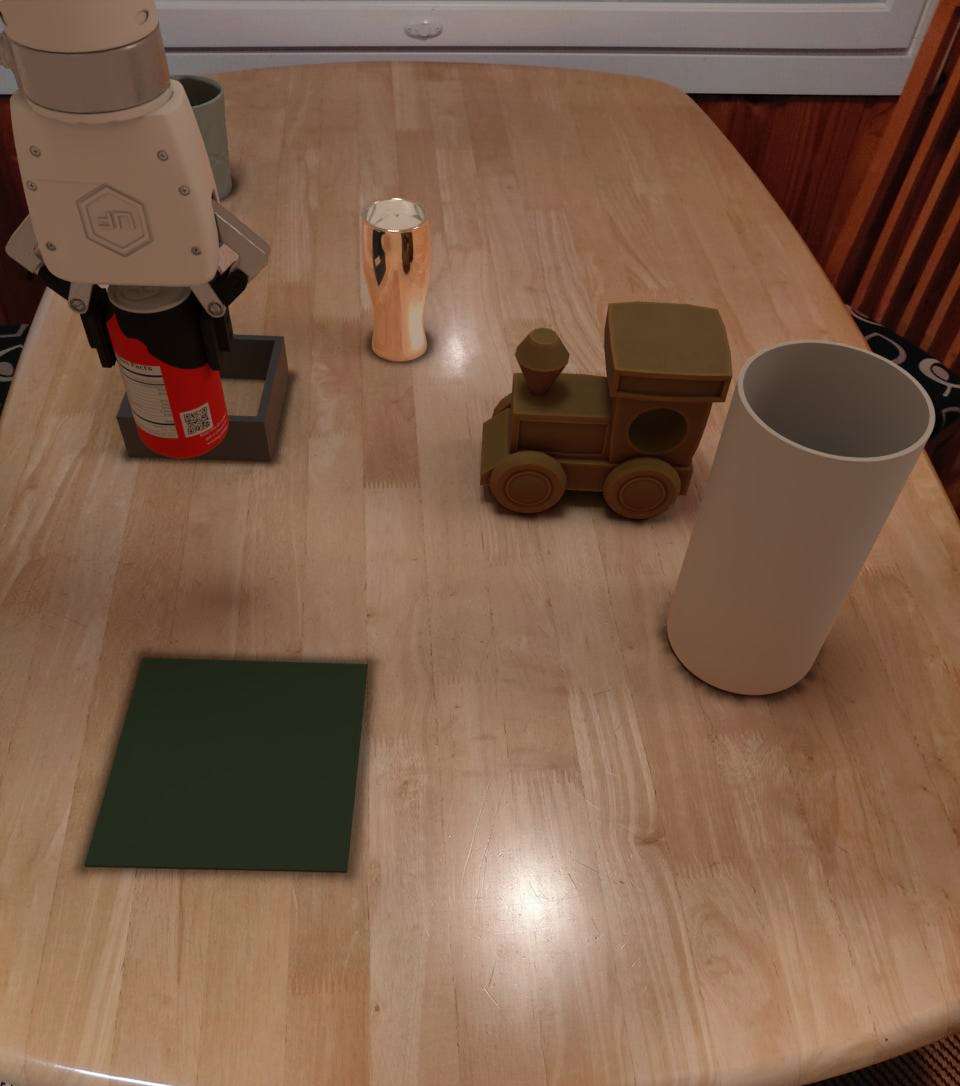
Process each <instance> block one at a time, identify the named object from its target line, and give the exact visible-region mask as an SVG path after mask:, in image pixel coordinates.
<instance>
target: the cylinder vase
mask: <svg viewBox="0 0 960 1086" xmlns="http://www.w3.org/2000/svg"><path fill="white" fill-rule="evenodd" d="M935 411H936V410H935V406H934V404H933V401H932V399H931V397H930V395H929V394H928V392H927V390H926V389H925V388H924V386H922V384H921V383H920V382H919V381H918V380H917V379H916V378H915V377H914V376H913V375H912V374H910V373H909V372H908V371H907V370H905V369H904V368H903V367H901V366H900V365H898V364H896V363H895V362H894V361H891V360H890V359H888V358H886V357H885V356H882V355H879V354H878V353H875V352H872V351H870V350H868V349H865V348H861V347H858V346H855V345H852V344H847V343H843V342H838V341H832V340H823V339H797V340H796V339H795V340H787V341H783V342H779V343H775V344H772V345H769V346H766V347H764V348H762V349H760V350H759V351H757V352H755V353H754V354H752V355H751V356H750V357H749V358H748V359H747V360H746V361H745V362H744V364H743V365H742V367H741V369H740V371H739V373H738V377H737V379H736V383H735V386H734V391H733V394H732V397H731V400H730V403H729V407H728V410H727V413H726V416H725V421H724V423H723V426H722V427H723V428H722V431H721V434H720V437H719V440H718V443H717V447H716V451H715V454H714V456H713V457H714V458H713V461H712V464H711V467H710V471H709V474H708V478H707V481H706V484H705V487H704V491H703V495H702V498H701V501H700V504H699V507H698V511H697V514H696V518H695V521H694V524H693V528H692V532H691V534H690V539H689V541H688V545H687V549H686V551H685V554H684V558H683V562H682V565H681V568H680V571H679V575H678V578H677V581H676V585H675V589H674V592H673V595H672V598H671V602H670V605H669V609H668V612H667V616H666V634H667V638H668V642H669V644H670V646H671V649H672V650H673V652H674V654H675V655H676V657H677V658H678V660H679V662H681V664H682V665H683V666H684V667H685V668H686V669H687V670H688V671H689V672H691V674H693V675H694V676H696V677H697V678H698V679H700V680H701V681H703V682H705V683H707V684H708V685H711V686H713V687H715V688H717V689H720V690H723V691H726V692H729V693H732V694H739V695H745V696H764V695H770V694H775V693H779V692H781V691H785V690H787V689H789V688H791V687H793V686H794V685H796V684H797V683H798V682H800V681H801V680H803V678H804V677H805V676H806V675H807V674H808V673H809V671H810V670H811V668H812V666H813V665H814V663H815V661H816V659H817V657H818V655H819V653H820V652H821V649H822V647H823V646H824V643H825V641H826V639H827V638H828V636H829V635H830V632H831V629H832V628H833V626H834V624H835V622H836V621H837V618H838V616H839V615H840V612H841V610H842V608H843V606H844V605H845V602H846V601H847V599H848V597H849V595H850V593H851V591H852V589H853V587H854V585H855V583H856V582H857V579H858V577H859V576H860V573H861V572H862V569H863V568H864V565H865V563H866V562H867V560H868V557H869V555H870V554H871V552H872V550H873V548H874V545H875V544H876V542H877V540H878V538H879V536H880V535H881V532H882V530H883V528H884V526H885V524H886V522H887V521H888V519H889V517H890V515H891V513H892V511H893V509H894V507H895V505H896V503H897V501H898V499H899V497H900V496H901V493H902V491H903V489H904V487H905V485H906V484H907V481H908V479H909V478H910V475H911V474H912V471H913V470H914V468H915V466H916V464H917V462H918V461H919V458H920V457H921V455H922V452H923V450H924V448H925V446H926V444H927V442H928V440H929V439H930V436H931V435H932V433H933V430H934V428H935V423H936V412H935Z"/></svg>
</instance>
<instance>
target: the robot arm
mask: <svg viewBox="0 0 960 1086" xmlns="http://www.w3.org/2000/svg"><path fill="white" fill-rule="evenodd" d="M0 22H1V24H2V27H3V30H2V31H1V32H0V66H3V68H4V69H10V70H11V72H12V74H13V76H14V80H15V83H16V86H17V89H16V91H14V92H13V93H12V94H11V96H10V98H9V108H10V117H11V127H12V133H13V140H14V146H15V151H16V158H17V162H18V168H19V173H20V178H21V182H22V187H23V192H24V195H25V201H26V205H27V209H28V212H29V213H28V214H27V215H26V217H25V218H24V219H23V221H22V222H21V223H20V224H19V226H18V227H17V228H16V229H15V230H14V232H13V233H12V234H11V236H10V238H9V240H8V241H7V243H6V245H5V247H4V249H5V253H6V254H7V256H8V257H9V258H11V259H12V260H14V261H15V262H17V263H18V264H19V265H20V266H22V267H23V268H24V269H26V270H27V271H29V272H30V273H31V274H33V273H34V274H35V275H37V278H38V279H39V281H40V282H41V283H42V284H43V285H45V286H46V287H47V288H49V289H50V290H51V291H53V292H54V293H55V294H57V295H58V296H60V297H61V298H63V299H64V300H66V301H67V305H68V308H69V309H70V310H71V311H72V312H74V313H75V314H79V318H80V321H81V323H82V326H83V328H84V332H85V336H86V339H87V342H88V345H89V347H90V349H95V350H96V352H97V356H98V358H99V362H100V366H101V368H103V369H112V368H113V367H115V365H116V363H117V359H116V356H115V352H114V349H113V346H112V342H111V339H110V336H109V332H108V329H107V326H106V322H105V311H106V308H107V305H108V302H109V297H108V294H107V288H106V287H101V286H100V285H104V286H106V285H107V286H109V285H131V286H170V287H190V289H191V290H192V292H193V293H194V294H195V296H196V297H197V299H198V300H199V302H200V303H201V304H202V306H203V309H202V313H201V316H200V326H201V331H202V335H203V340H204V345H205V349H206V354H207V359H208V363H209V368H211V369H212V370H213V371H221V370H222V366H223V363H224V359H225V355H226V352H232V351H233V347H234V335H233V334H234V329H233V325H232V324H233V323H232V319H231V314H230V313H231V312H230V307H229V306H231V305H232V304H233V303H234V302H235V300H236V299H237V298H238V297H240V296H241V294H242V293H243V292H244V291H245V290H246V289H247V288H248V287H247V286H248V285H249V284H250V283H251V282H252V281H253V280H254V279H255V278H256V277H257V276H258V275H259V274H260V273H261V272H262V270H263V269H265V267H266V266H267V265H268V263H269V261H270V257H271V251H272V248H271V246H270V244H269V243H268V242H267V241H266V240H265V239H263V238H262V237H261V236H260V235H258V234H257V233H255V232H254V231H253V230H252V229H251V228H250V227H249V226H247V225H246V224H245V223H244V222H243V221H241V220H240V219H239V218H237V216H235V215H234V214H232V213H231V212H230V210H228V209H227V208H225V207H224V206H223V205H222V204H221V202H220V201H221V200H219V197H218V193H217V189H216V184H215V181H214V177H213V173H212V169H211V166H210V162H209V158H208V155H207V152H206V148H205V145H204V142H203V139H202V136H201V133H200V130H199V127H198V124H197V121H196V118H195V115H194V113H193V110H192V107H191V105H190V102H189V100H188V97H187V95H186V93H185V90H184V88H183V86H182V84H181V83H180V82H179V81H177V80H172V79H170V70H169V69H170V68H169V64H168V59H167V56H166V55H167V54H166V50H165V45H164V44H165V43H164V40H163V33H162V29H161V28H162V27H161V24H160V20H159V14H158V10H157V5H156V0H0ZM224 245H226V246H227V247H228V248H229V249H231V250H232V251H233V252H234V253H235V254H236V255H238V258H237V259H236V260H234V261H232V262H231V264H230V265H229V266H228V267H227V268H226V269H224V271H223V270H222V267H221V266H220V248H221V247H222V246H224Z"/></svg>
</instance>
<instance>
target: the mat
mask: <svg viewBox="0 0 960 1086" xmlns="http://www.w3.org/2000/svg"><path fill="white" fill-rule="evenodd" d="M367 676H368V664H367V663H344V662H339V663H338V662H308V661H307V662H305V661H275V660H273V661H272V660H271V661H270V660H241V659H240V660H238V659H237V660H236V659H232V660H231V659H204V658H202V659H201V658H199V659H198V658H171V657H170V658H169V657H167V658H166V657H143V658H142V661H141V663H140V667H139V671H138V675H137V678H136V682H135V685H134V688H133V692H132V696H131V699H130V703H129V705H128V706H129V707H128V710H127V713H126V717H125V720H124V724H123V727H122V731H121V734H120V738H119V741H118V744H117V748H116V751H115V756H114V760H113V763H112V766H111V770H110V773H109V777H108V780H107V784H106V788H105V791H104V794H103V798H102V801H101V805H100V809H99V812H98V816H97V819H96V823H95V826H94V830H93V833H92V837H91V840H90V844H89V846H88V847H89V848H88V851H87V855H86V858H85V862H84V867H89V868H92V867H93V868H129V869H131V868H133V869H134V868H137V869H144V868H145V869H178V870H179V869H181V870H182V869H183V870H219V871H220V870H221V871H222V870H226V871H264V872H271V871H273V872H306V873H307V872H308V873H309V872H310V873H312V872H314V873H348V865H349V856H350V847H351V838H352V837H351V836H352V828H353V827H352V826H353V825H352V824H353V816H354V805H355V796H356V787H357V776H358V767H359V757H360V756H359V754H360V746H361V745H360V743H361V735H362V727H363V726H362V723H363V716H364V715H363V714H364V706H365V697H366V696H365V695H366V685H367V684H366V683H367Z"/></svg>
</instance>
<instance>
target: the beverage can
mask: <svg viewBox="0 0 960 1086" xmlns="http://www.w3.org/2000/svg"><path fill="white" fill-rule="evenodd" d="M106 290H107V294H108V297H109V302H108V305H107V308H106V311H105V322H106V326H107V329H108V332H109V336H110V339H111V342H112V346H113V349H114V352H115V356H116V359H117V361H116V363H117V366H118V369H119V372H120V376H121V379H122V382H123V386H124V389H125V392H126V393H127V396H128V399H129V403H130V406H131V409H132V413H133V416H134V419H135V423H136V426H137V429H138V433H139V436H140V438H141V440H142V441H143V443H144V444H145V445H146V446H147V447H148V448H149V449H151V450H152V451H154V452H156V453H158V454H161V455H164V456H168V457H171V458H170V459H175V458H177V460H182V459H184V460H189V459H188V458H194V457H198V456H201V455H203V454H205V453H207V452H209V451H210V450H212V449H213V448H214V447H215V446H217V445H218V444H219V443H220V442H221V441H222V440H223V438H224V437H225V435H226V433H227V431H228V426H229V418H228V415H229V414H228V409H227V404H226V399H225V395H224V389H223V384H222V380H221V379H222V378H220V374H219V371H213V370H212V369H211V368H209V363H208V359H207V354H206V349H205V345H204V340H203V335H202V331H201V326H200V316H201V313H202V309H203V306H202V304H201V303H200V302H199V300H198V299H197V297H196V296H195V294H194V293H193V292H192V290H191V289H190V287H170V286H131V285H107V288H106Z"/></svg>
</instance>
